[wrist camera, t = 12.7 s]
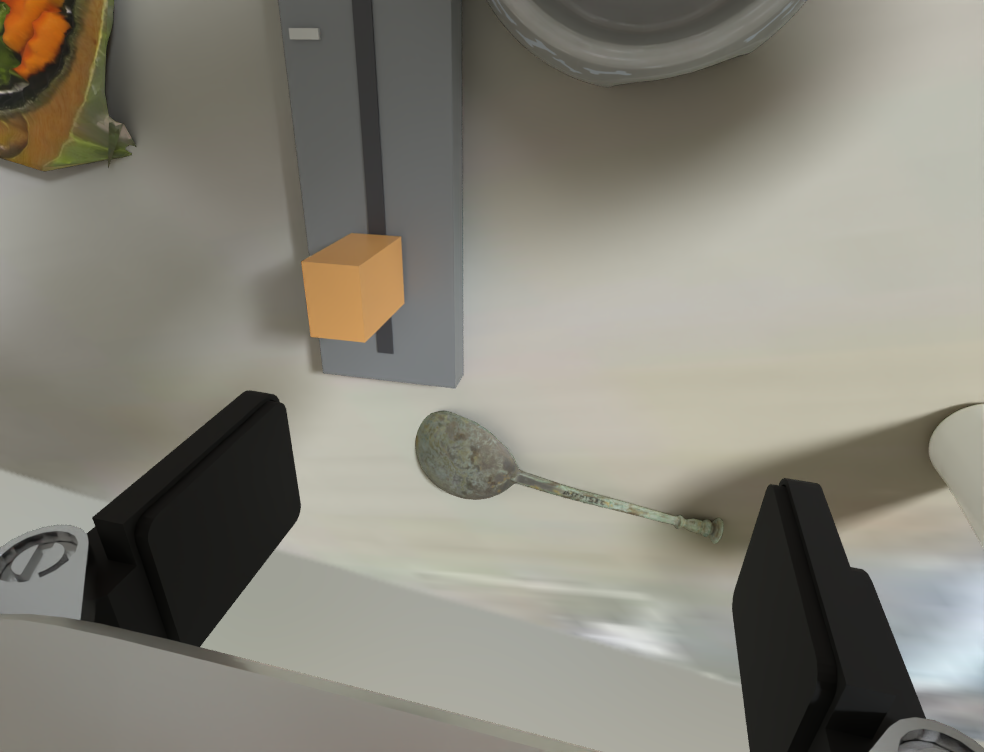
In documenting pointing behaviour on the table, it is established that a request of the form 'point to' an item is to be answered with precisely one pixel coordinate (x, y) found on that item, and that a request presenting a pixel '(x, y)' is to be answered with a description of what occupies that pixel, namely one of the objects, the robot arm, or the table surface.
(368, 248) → the fader knob
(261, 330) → the table surface
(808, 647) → the robot arm
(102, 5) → the prepared meal
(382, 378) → the fader console
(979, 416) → the drinking glass
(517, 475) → the soupspoon
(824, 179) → the table surface
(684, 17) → the dog bowl
